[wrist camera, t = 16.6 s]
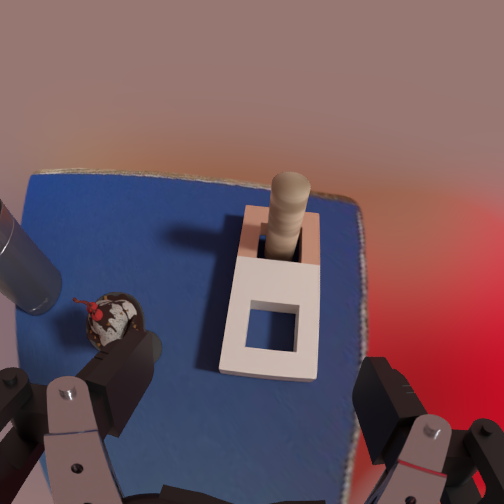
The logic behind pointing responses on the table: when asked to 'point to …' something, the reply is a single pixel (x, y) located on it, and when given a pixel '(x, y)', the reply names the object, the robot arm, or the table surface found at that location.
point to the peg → (285, 215)
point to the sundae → (116, 320)
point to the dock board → (274, 303)
